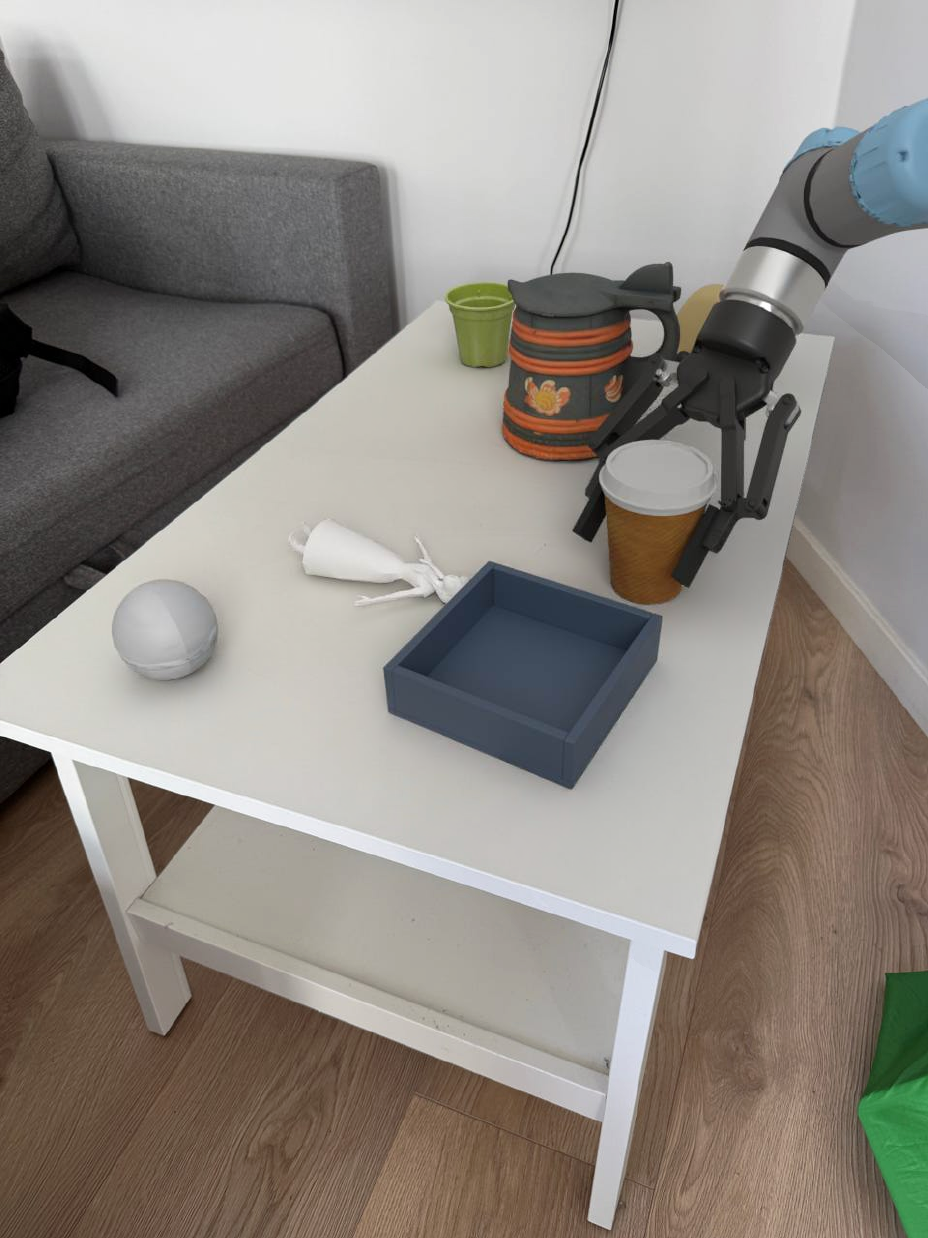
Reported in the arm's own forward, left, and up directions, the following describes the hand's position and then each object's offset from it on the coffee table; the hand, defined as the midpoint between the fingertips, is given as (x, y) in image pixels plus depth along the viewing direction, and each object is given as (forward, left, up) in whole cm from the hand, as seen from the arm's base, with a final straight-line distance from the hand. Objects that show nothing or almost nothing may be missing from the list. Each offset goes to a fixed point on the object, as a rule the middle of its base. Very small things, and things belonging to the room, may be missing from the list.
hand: (629, 558), depth 77 cm
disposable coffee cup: (-1, -3, -5) cm, 5 cm away
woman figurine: (+20, +8, -5) cm, 22 cm away
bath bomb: (+28, +26, -5) cm, 39 cm away
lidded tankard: (+16, -26, -5) cm, 31 cm away
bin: (+2, +14, -4) cm, 15 cm away
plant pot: (+37, -39, -5) cm, 54 cm away
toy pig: (+10, -49, -5) cm, 50 cm away
